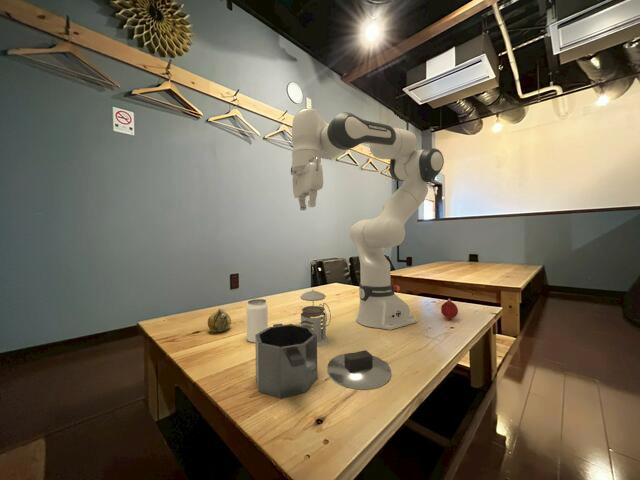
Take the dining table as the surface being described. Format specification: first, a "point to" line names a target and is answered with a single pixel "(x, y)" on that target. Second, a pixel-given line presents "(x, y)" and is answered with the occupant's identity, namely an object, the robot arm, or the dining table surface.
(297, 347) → the pot
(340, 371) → the lid
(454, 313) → the onion
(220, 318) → the onion
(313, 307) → the french press
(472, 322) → the dining table surface
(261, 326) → the can
